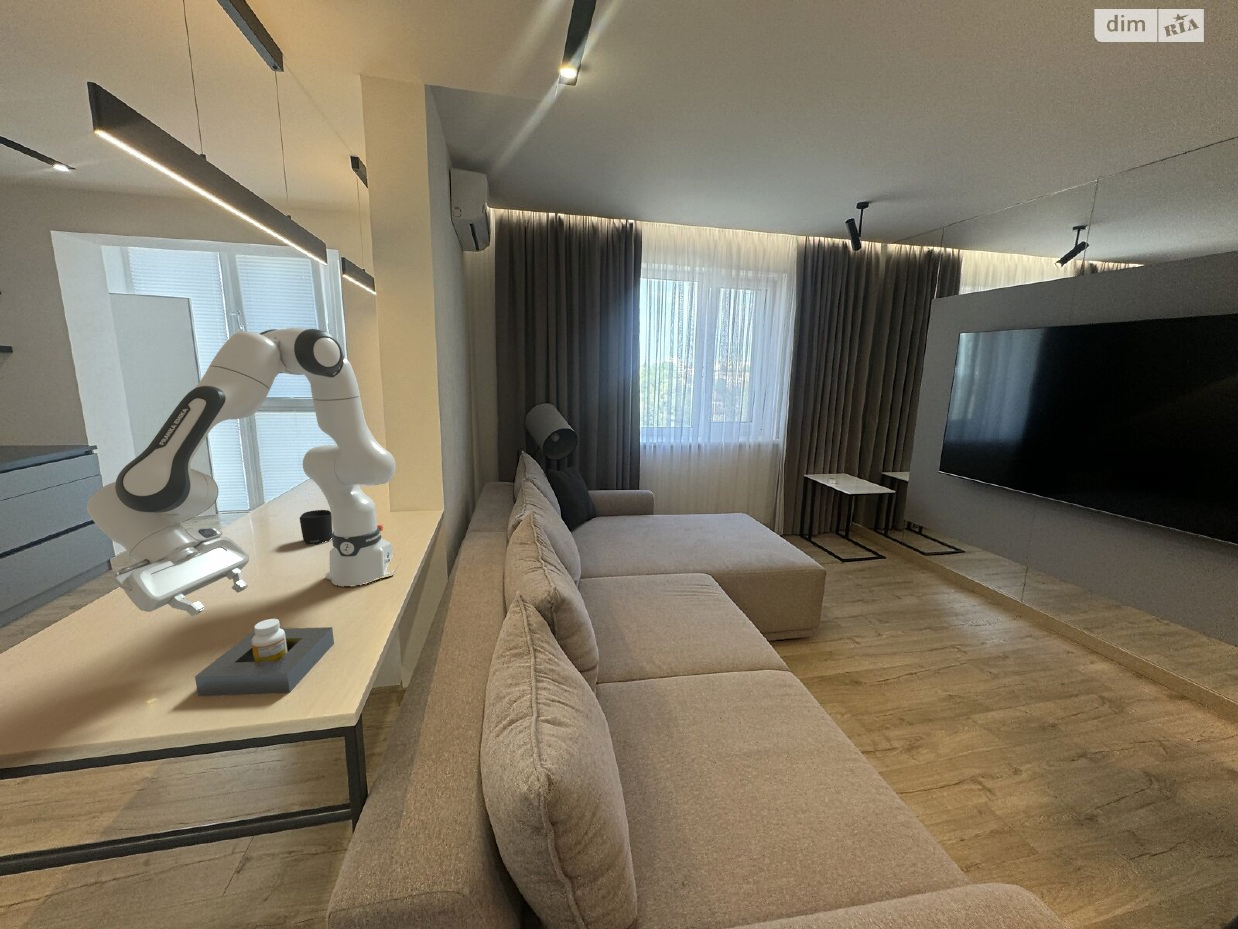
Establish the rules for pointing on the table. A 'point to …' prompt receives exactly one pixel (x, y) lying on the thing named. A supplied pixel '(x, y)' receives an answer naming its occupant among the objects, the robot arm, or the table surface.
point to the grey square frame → (265, 665)
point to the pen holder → (316, 526)
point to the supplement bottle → (268, 641)
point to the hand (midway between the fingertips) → (222, 600)
